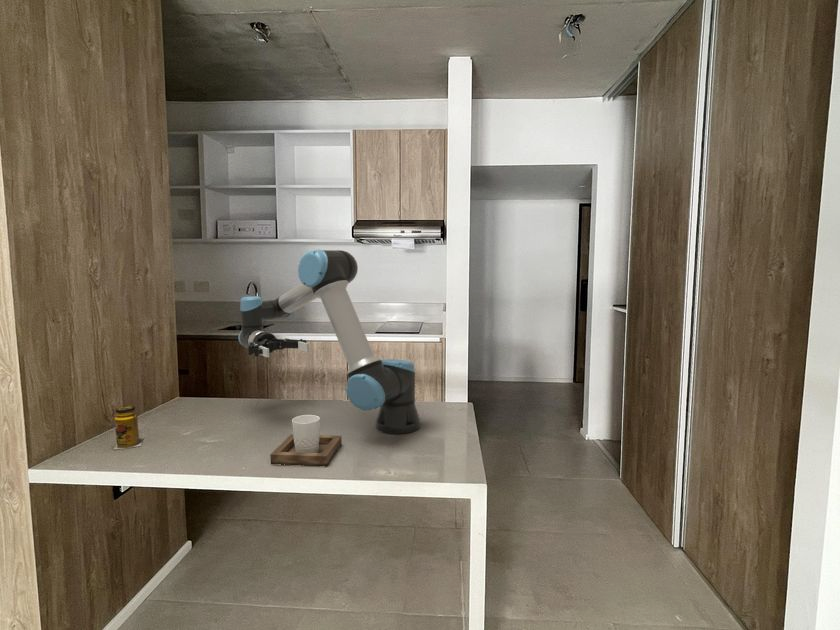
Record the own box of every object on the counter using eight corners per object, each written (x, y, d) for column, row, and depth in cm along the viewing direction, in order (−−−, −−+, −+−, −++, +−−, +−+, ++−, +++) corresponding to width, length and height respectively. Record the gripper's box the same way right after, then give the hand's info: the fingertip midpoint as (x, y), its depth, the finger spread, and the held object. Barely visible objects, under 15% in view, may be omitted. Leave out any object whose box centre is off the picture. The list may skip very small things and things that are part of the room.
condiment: (113, 450, 148) (110, 412, 147) (118, 441, 156) (115, 404, 155) (140, 446, 151) (137, 408, 150) (144, 437, 159) (141, 401, 157)
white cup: (325, 448, 146) (324, 416, 145) (311, 458, 139) (310, 424, 137) (302, 445, 148) (301, 413, 147) (287, 455, 141) (286, 421, 140)
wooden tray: (341, 445, 151) (341, 435, 150) (326, 466, 135) (326, 456, 135) (291, 443, 152) (290, 434, 152) (270, 464, 137) (270, 454, 136)
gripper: (296, 348, 182) (323, 356, 165) (227, 357, 166) (250, 367, 150) (295, 328, 181) (323, 334, 165) (226, 335, 165) (249, 343, 149)
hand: (288, 350), depth 157 cm, fingers open, 13 cm apart
